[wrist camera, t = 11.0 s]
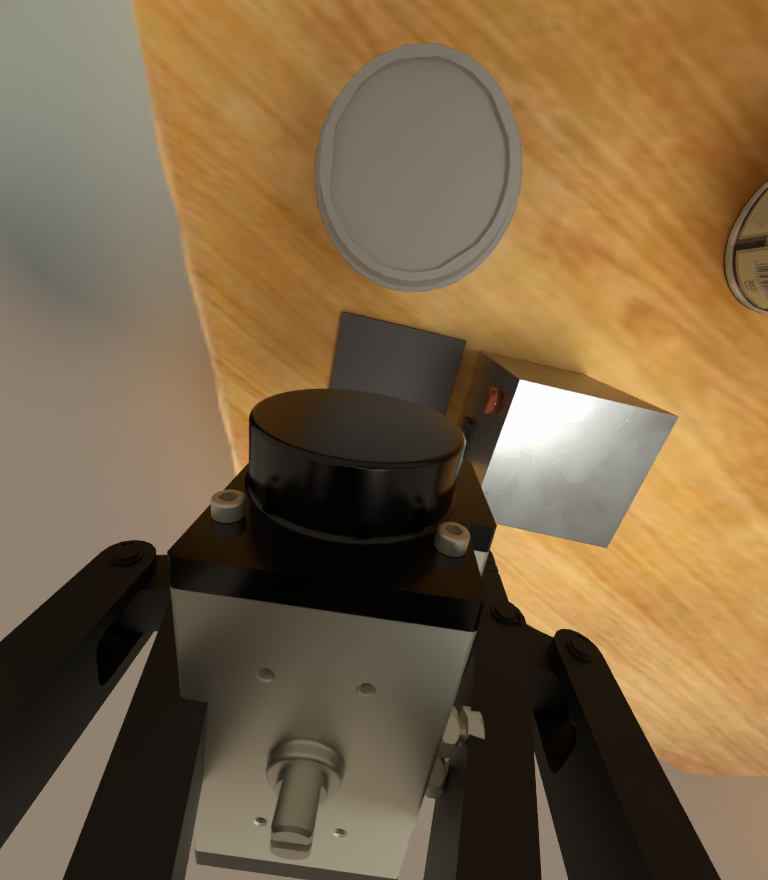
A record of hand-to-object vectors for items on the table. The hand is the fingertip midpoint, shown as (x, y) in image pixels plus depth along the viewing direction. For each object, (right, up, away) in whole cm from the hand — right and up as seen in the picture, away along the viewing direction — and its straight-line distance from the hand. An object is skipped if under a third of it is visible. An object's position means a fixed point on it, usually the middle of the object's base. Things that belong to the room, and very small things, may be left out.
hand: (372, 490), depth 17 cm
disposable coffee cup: (+3, +18, +11) cm, 21 cm away
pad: (+1, +7, +15) cm, 16 cm away
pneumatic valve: (0, 0, 0) cm, 0 cm away
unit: (+12, +4, +15) cm, 20 cm away
